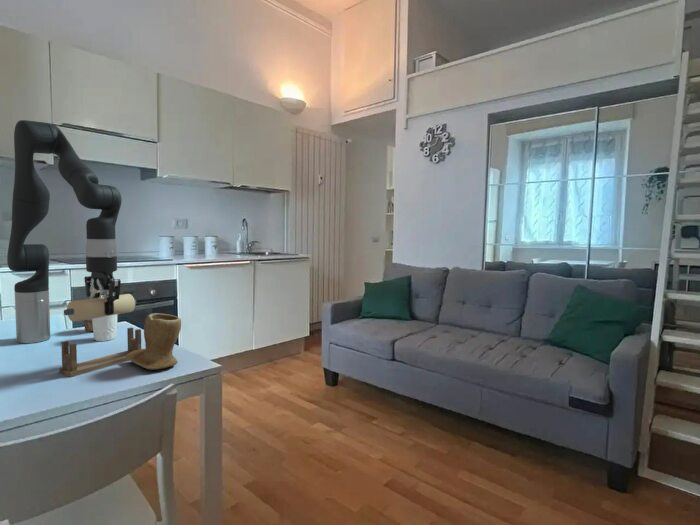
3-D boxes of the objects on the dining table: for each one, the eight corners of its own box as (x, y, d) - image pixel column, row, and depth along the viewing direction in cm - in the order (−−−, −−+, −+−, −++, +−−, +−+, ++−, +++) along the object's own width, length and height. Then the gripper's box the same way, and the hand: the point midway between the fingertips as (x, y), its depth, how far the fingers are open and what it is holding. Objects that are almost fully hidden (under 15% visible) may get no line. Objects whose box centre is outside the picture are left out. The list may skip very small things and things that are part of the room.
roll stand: (58, 372, 108) (57, 342, 108) (132, 353, 127) (131, 326, 126) (70, 377, 106) (70, 345, 105) (144, 356, 124) (143, 329, 123)
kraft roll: (59, 321, 108) (59, 300, 107) (129, 309, 125) (129, 292, 124) (71, 324, 105) (70, 303, 105) (140, 312, 122) (140, 294, 122)
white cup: (106, 342, 137) (105, 314, 137) (86, 340, 139) (85, 312, 138) (123, 336, 145) (122, 309, 144) (104, 335, 147) (104, 308, 146)
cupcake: (101, 327, 158) (101, 302, 157) (112, 330, 153) (111, 304, 152) (76, 331, 151) (75, 305, 150) (86, 335, 146) (85, 308, 145)
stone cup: (188, 365, 117) (188, 315, 116) (147, 376, 108) (146, 321, 107) (164, 354, 127) (164, 307, 126) (124, 363, 118) (123, 313, 116)
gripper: (73, 254, 114) (75, 312, 115) (103, 256, 107) (104, 318, 108) (100, 253, 120) (101, 308, 122) (129, 255, 114) (130, 314, 115)
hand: (102, 313), depth 115 cm, fingers closed on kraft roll, 5 cm apart
